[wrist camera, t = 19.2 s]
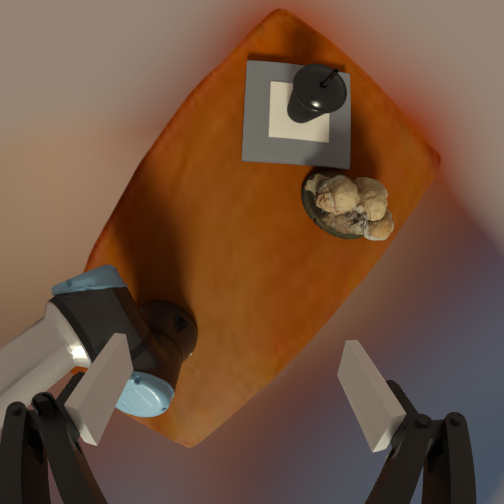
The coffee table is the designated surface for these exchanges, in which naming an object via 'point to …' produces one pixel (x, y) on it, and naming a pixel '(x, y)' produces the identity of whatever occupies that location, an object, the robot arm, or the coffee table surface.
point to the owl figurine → (347, 205)
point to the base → (291, 122)
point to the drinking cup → (316, 93)
